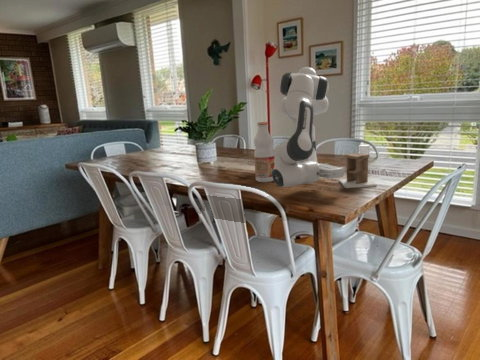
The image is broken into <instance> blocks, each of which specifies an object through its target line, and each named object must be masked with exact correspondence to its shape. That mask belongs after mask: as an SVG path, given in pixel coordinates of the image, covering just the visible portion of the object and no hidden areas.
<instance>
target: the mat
mask: <svg viewBox="0 0 480 360" xmlns="http://www.w3.org/2000/svg"><path fill="white" fill-rule="evenodd" d="M338 179H339V178H338ZM338 182H339V183H340V184H341V185H342V186H343V187H344V188H345V189H351V188H370V187H371V188H373V187H374V188H376V187H377V186H378V184H377V183H375V181H373V180H371V178H369V177H368V182H365V183H360V184H356V180H354V181H349V182H347V178H340V179H339V181H338Z"/></svg>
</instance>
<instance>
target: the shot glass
mask: <svg viewBox="0 0 480 360" xmlns="http://www.w3.org/2000/svg"><path fill="white" fill-rule="evenodd" d="M371 147H372V145H371V144H368V143H367V144H359V145H358V153H363V154H370V153H371Z"/></svg>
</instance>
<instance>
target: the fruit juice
mask: <svg viewBox="0 0 480 360" xmlns="http://www.w3.org/2000/svg"><path fill="white" fill-rule="evenodd" d="M256 125H257V127H258V129H257V133H256V136H255V137H254V138H253V143H254V147H255V149H254V154H253V155H254V169H255V170H254V172H255V173H254V175H255V181H256V182H257V181H258V183H271V182H274V180H273V177H272V171H273V169H274V164H275V159H274V150H275V149H274V148H273V145H274V139H273V137H272V135H271V134H270V132H269V129H268V126H269V122H268V121H259V122H257V124H256Z"/></svg>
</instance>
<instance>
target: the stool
mask: <svg viewBox="0 0 480 360" xmlns="http://www.w3.org/2000/svg"><path fill="white" fill-rule="evenodd" d="M344 158H346V179H347V182H349V181H354V180H356V184H360V183H365V182H368V178H369V176H368V175H369V158H370V154H363V153H359V152H354V153H348V154H345V157H344Z"/></svg>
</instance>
